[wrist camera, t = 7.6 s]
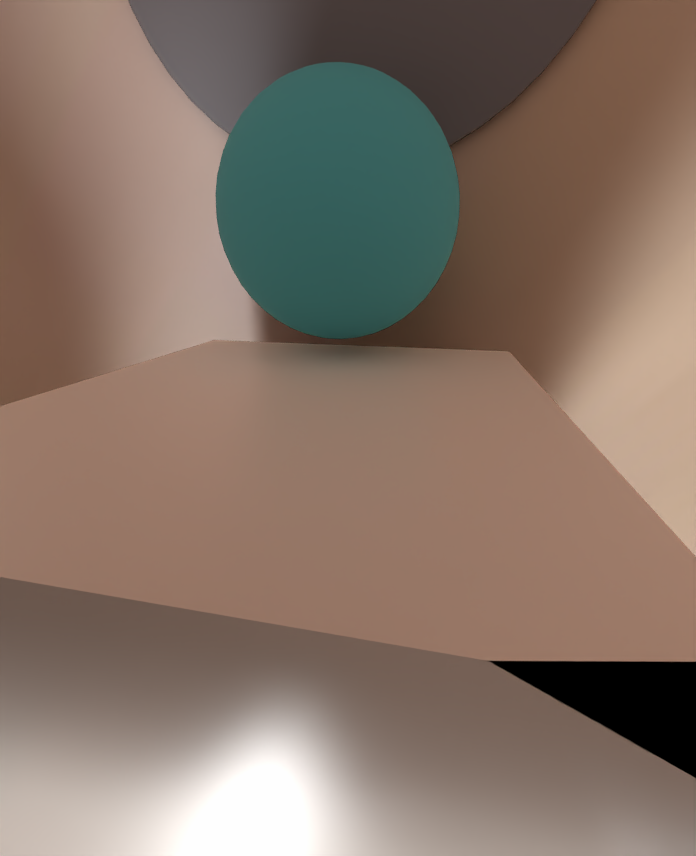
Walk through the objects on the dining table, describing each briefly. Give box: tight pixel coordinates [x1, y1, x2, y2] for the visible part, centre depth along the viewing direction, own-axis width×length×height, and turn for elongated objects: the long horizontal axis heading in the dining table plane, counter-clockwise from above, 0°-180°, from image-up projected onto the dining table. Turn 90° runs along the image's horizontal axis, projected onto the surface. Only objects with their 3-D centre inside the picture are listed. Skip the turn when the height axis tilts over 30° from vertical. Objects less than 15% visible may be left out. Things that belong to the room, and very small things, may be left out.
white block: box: [0, 340, 696, 856], centre depth 8 cm, size 8×8×9 cm
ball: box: [216, 62, 460, 339], centre depth 9 cm, size 5×5×5 cm
